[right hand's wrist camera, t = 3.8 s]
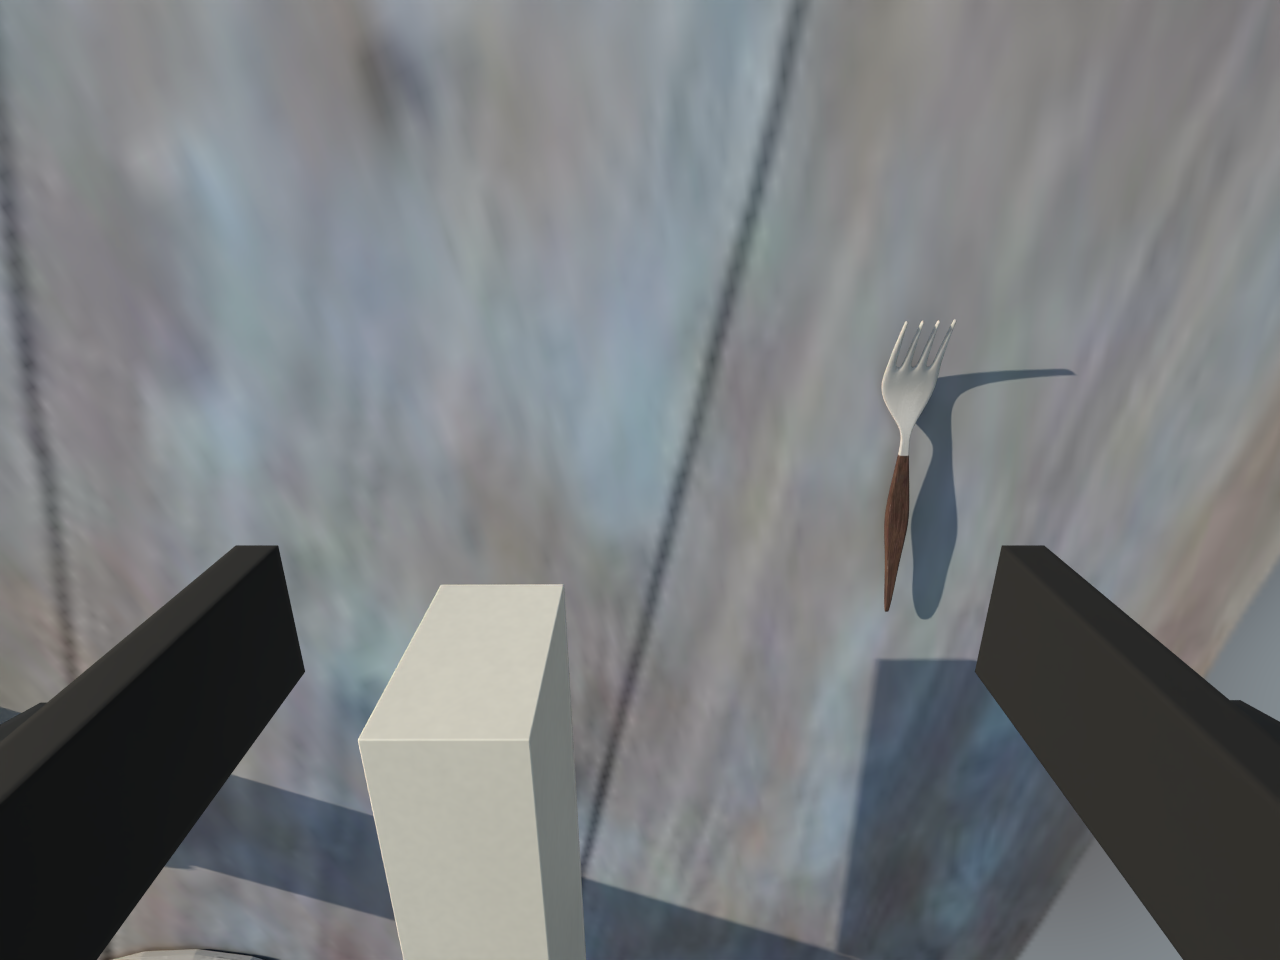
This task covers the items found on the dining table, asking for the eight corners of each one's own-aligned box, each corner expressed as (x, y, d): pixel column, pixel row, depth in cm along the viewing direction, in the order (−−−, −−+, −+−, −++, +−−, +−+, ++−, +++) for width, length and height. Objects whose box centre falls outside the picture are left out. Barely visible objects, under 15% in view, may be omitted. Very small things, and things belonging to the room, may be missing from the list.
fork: (859, 606, 38) (870, 627, 36) (887, 314, 32) (901, 321, 30) (907, 605, 38) (920, 626, 36) (943, 312, 32) (961, 319, 30)
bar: (440, 584, 30) (357, 739, 22) (564, 583, 30) (530, 739, 22) (492, 964, 40) (448, 1179, 31) (586, 964, 40) (569, 1180, 31)
